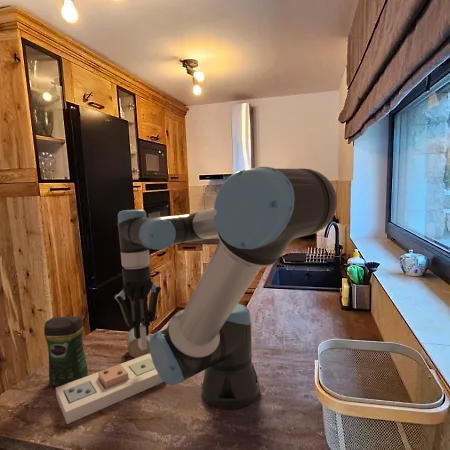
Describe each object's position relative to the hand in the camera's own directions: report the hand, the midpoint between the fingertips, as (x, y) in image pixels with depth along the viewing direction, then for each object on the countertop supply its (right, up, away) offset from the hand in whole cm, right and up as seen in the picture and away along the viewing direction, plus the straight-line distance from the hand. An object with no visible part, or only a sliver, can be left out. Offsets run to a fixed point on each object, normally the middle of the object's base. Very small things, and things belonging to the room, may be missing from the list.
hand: (142, 347), depth 90 cm
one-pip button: (0, -9, +1) cm, 9 cm away
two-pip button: (-7, -8, -4) cm, 11 cm away
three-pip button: (-13, -10, -9) cm, 19 cm away
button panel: (-7, -10, -4) cm, 12 cm away
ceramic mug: (-4, -8, +15) cm, 18 cm away
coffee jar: (-21, -10, +1) cm, 24 cm away
